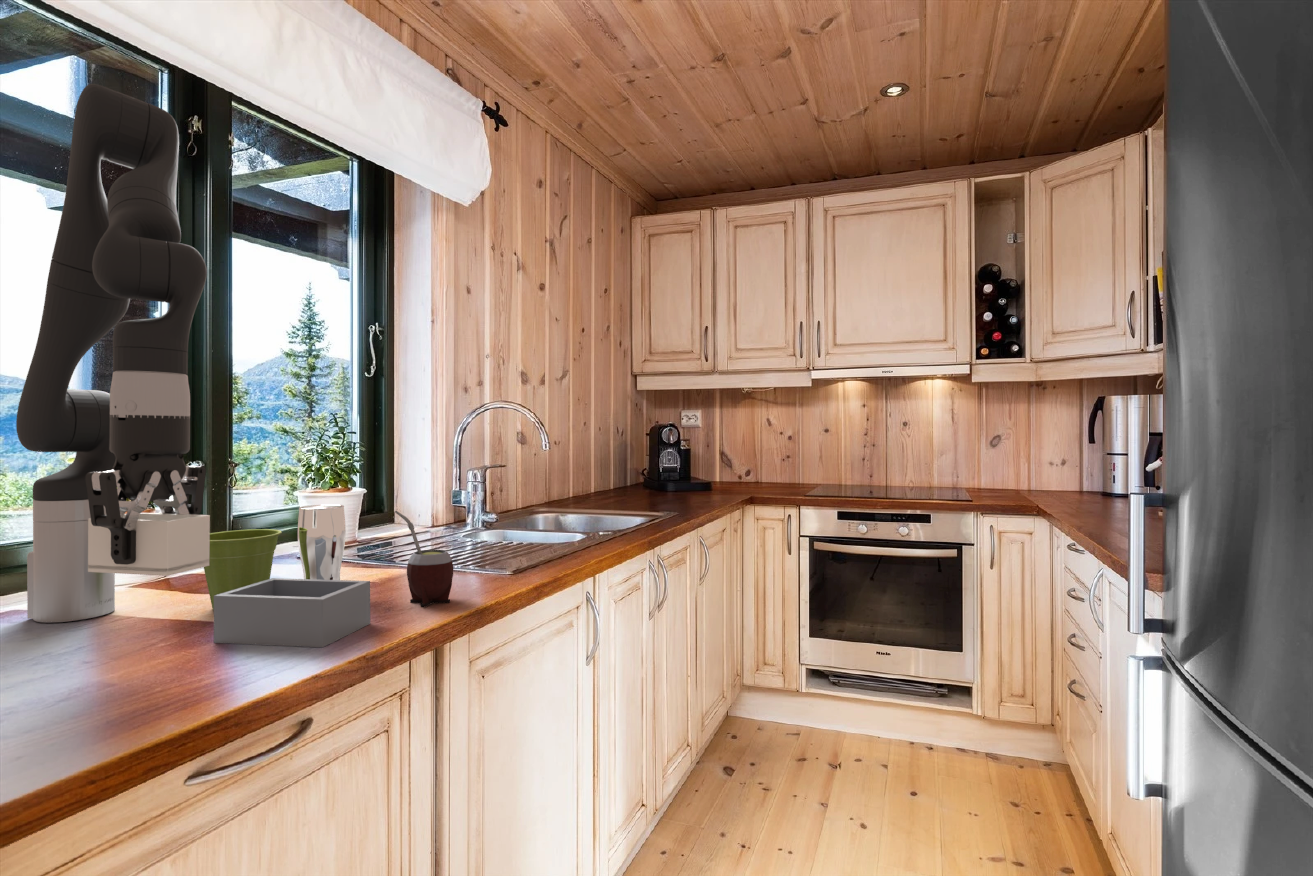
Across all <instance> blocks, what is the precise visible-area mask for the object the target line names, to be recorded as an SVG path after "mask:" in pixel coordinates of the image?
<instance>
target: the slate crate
mask: <svg viewBox="0 0 1313 876" xmlns="http://www.w3.org/2000/svg"><path fill="white" fill-rule="evenodd" d="M369 625H371V580H352V579H351V580H348V579H347V580H345V579H343V580H341V579H340V580H317V579H304V578H280V577H270V579H268V580H264V581H261V582H258V583H254V584H251V585H248V586H245V587H241V588H238V589H235V590H231V591H228V592H225V593H221V594H218V595H215V596H214V610H213V643H214V644H216V643H217V644H236V645H237V644H239V645H259V646H260V645H261V646H284V647H286V646H287V647H303V648H305V647H306V648H310V647H311V648H324V647H327V646H329V645H330V644H332V643H335V642H336V641H338V640H340V639H342V638H345V637H346V636H348V635H351V634H352V633H354V632H357V631H358V630H360V629H362V628H365V627H367V626H369Z"/></svg>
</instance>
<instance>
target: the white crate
mask: <svg viewBox="0 0 1313 876" xmlns="http://www.w3.org/2000/svg"><path fill="white" fill-rule="evenodd" d="M126 514H127V513H125V514H124V516H123V518H125V516H126ZM210 517H211V515H210V514H197V515H196V514H194V515H191V514H162V512H161V513H159V512H141V513H140V515H139V518H138V520H137V523H136V525H135V528H134V529H133V530H136V561H135V562H134V563H132V564H128V565H126V564H115V563H114V561H113V559H112V557H111V532H110V530H109V529H108V528H105V527H101V526H93V525H92V523H91V518H89V519H88V572H100V573H115V574H122V575H123V574H125V575H126V574H127V575H143V576H144V575H145V576H159V577H160V576H162V577H164V576H165V577H168V576H173V575H176V574H180V573H184V572H188V571H193V570H197V569H201V568H204V567H206V566H209V550H210V533H211V531H210V529H211V528H210V527H211V521H210Z"/></svg>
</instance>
